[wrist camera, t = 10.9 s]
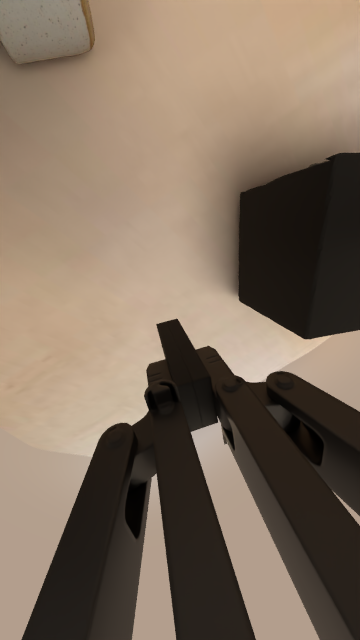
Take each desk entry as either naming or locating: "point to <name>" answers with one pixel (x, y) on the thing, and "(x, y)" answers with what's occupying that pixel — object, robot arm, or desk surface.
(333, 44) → the desk surface
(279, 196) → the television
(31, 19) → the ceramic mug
